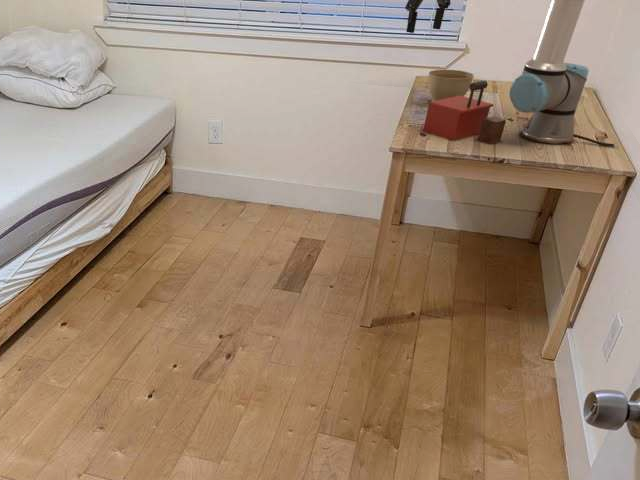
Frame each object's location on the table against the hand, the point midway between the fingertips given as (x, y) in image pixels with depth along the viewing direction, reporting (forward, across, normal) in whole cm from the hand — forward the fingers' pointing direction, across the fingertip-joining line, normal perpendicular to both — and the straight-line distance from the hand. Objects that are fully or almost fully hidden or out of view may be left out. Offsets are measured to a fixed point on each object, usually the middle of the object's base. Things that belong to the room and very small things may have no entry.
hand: (423, 30), depth 238 cm
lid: (+19, +7, +27) cm, 34 cm away
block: (+28, +6, +39) cm, 48 cm away
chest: (+28, +7, +26) cm, 39 cm away
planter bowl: (+28, -21, 0) cm, 35 cm away
